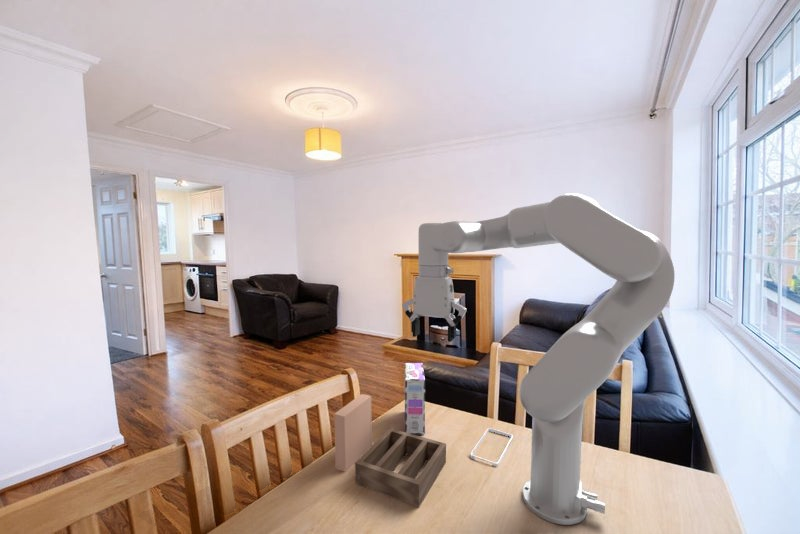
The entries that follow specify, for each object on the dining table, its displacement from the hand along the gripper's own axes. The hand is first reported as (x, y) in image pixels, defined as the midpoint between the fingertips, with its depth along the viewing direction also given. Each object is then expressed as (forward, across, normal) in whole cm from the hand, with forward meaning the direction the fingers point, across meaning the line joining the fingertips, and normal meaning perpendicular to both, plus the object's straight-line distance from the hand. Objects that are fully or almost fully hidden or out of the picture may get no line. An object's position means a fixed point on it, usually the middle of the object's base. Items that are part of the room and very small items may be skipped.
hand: (433, 337), depth 92 cm
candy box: (+31, +10, -10) cm, 34 cm away
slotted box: (+30, +3, +12) cm, 33 cm away
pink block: (+30, +17, +12) cm, 37 cm away
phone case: (+31, -14, -8) cm, 35 cm away
